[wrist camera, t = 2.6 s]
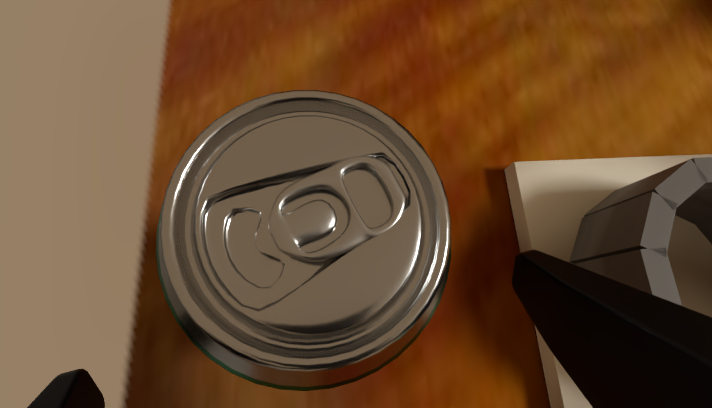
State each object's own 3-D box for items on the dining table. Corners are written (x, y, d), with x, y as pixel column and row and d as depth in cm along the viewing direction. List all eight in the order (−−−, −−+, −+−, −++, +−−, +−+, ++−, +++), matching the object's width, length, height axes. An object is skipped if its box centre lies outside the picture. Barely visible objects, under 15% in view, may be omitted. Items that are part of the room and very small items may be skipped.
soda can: (222, 258, 17) (78, 135, 6) (331, 208, 19) (381, 28, 7) (272, 372, 17) (213, 485, 5) (383, 313, 18) (537, 295, 6)
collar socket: (798, 406, 19) (965, 434, 14) (557, 442, 17) (657, 488, 12) (715, 160, 22) (829, 115, 17) (504, 169, 20) (567, 122, 16)
